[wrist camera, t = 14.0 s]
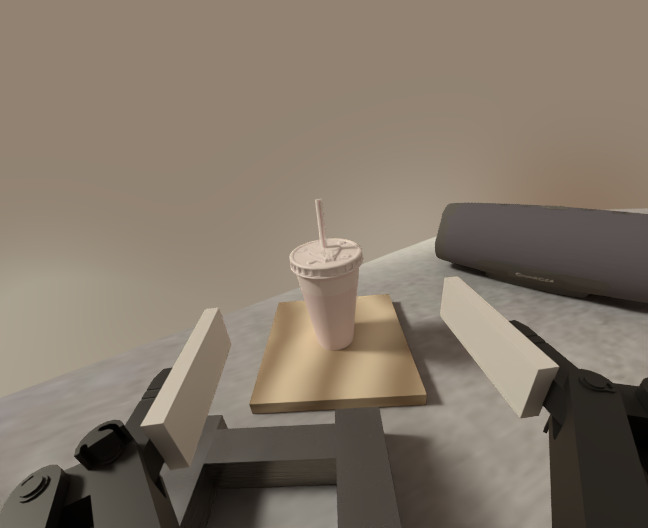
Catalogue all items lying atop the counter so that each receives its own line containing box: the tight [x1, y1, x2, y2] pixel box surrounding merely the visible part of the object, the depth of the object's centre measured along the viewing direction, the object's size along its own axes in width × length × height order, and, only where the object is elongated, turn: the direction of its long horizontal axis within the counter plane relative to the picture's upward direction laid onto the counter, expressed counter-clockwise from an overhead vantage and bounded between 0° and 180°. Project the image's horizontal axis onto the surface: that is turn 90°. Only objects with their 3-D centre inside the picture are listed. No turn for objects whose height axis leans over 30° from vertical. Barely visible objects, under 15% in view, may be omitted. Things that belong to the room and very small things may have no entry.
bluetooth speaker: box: [435, 203, 648, 303], centre depth 31 cm, size 23×9×10 cm, turn 49°
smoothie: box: [290, 199, 363, 350], centre depth 23 cm, size 6×6×14 cm
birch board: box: [249, 294, 427, 414], centre depth 27 cm, size 14×14×1 cm
